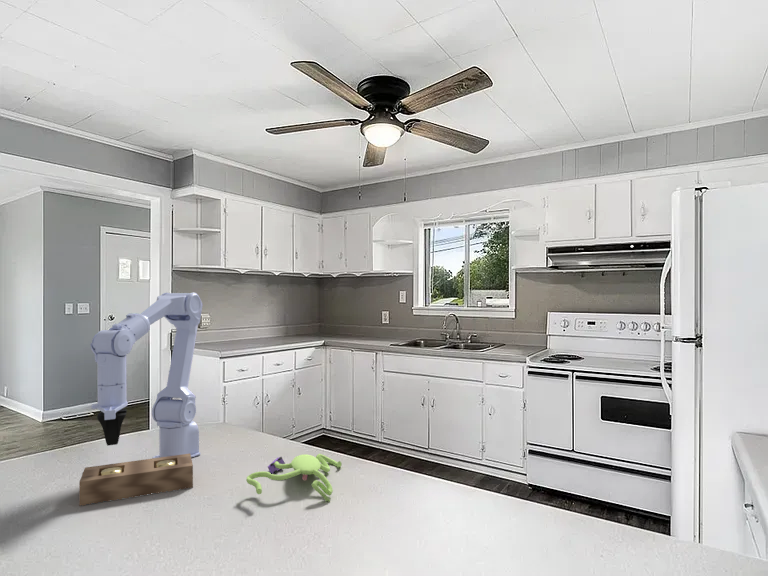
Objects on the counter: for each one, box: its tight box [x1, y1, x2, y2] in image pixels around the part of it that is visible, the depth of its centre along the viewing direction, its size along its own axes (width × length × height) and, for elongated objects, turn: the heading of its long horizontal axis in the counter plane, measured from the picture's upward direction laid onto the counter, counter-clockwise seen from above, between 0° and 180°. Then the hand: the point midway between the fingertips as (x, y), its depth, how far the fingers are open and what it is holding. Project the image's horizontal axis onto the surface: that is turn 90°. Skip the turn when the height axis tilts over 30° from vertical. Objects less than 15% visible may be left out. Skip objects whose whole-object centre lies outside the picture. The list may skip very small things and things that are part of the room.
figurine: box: [246, 453, 342, 503], centre depth 114 cm, size 18×27×6 cm
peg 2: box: [156, 460, 175, 468], centre depth 113 cm, size 4×4×5 cm
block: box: [78, 453, 194, 507], centre depth 110 cm, size 22×9×5 cm, turn 115°
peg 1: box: [101, 467, 122, 476], centre depth 108 cm, size 4×4×5 cm
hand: (112, 444), depth 110 cm, fingers closed
